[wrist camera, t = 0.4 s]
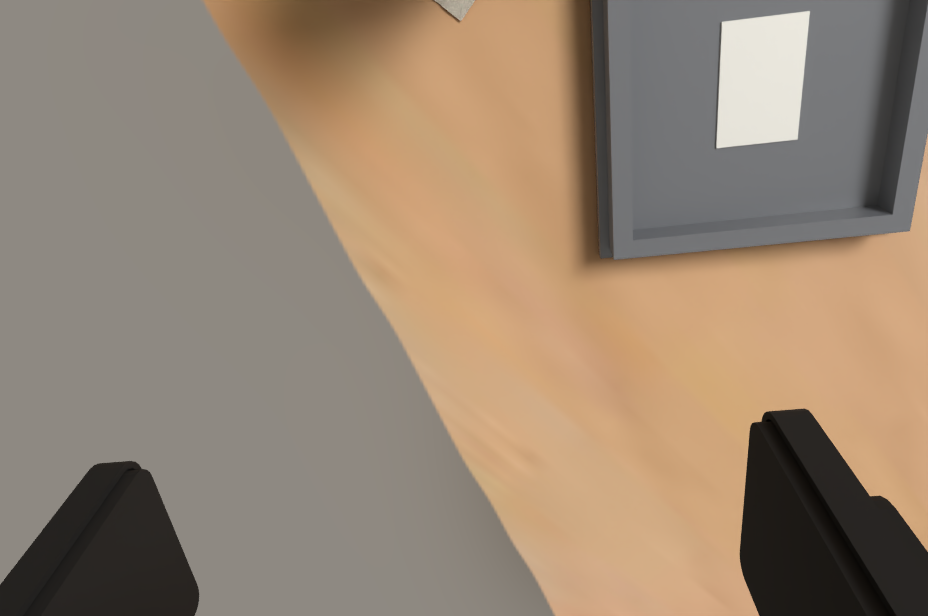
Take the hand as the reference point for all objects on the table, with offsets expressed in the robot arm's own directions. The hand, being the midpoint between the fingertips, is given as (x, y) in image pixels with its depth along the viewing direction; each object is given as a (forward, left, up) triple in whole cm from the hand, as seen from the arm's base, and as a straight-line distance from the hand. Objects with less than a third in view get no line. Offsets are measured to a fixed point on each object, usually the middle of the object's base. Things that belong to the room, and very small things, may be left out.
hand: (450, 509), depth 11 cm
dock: (-1, +14, -28) cm, 31 cm away
